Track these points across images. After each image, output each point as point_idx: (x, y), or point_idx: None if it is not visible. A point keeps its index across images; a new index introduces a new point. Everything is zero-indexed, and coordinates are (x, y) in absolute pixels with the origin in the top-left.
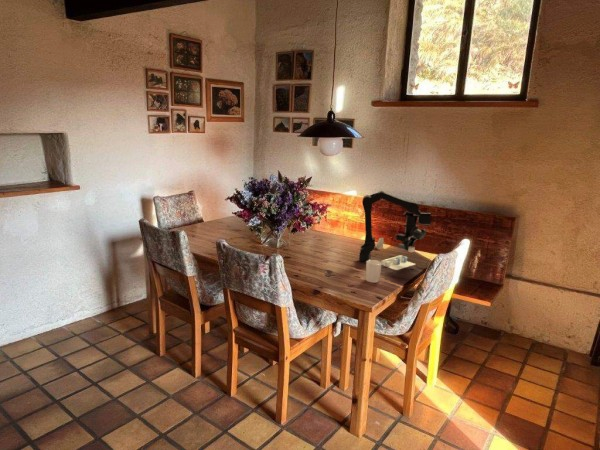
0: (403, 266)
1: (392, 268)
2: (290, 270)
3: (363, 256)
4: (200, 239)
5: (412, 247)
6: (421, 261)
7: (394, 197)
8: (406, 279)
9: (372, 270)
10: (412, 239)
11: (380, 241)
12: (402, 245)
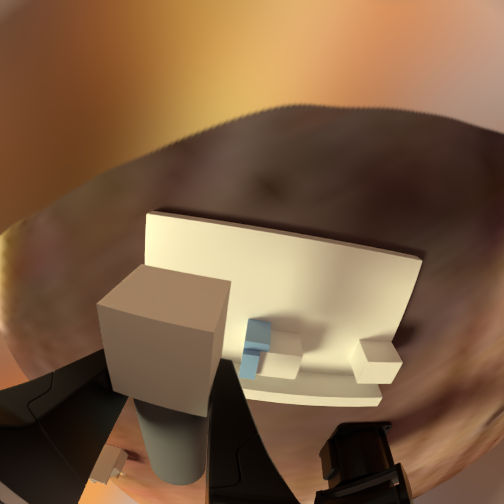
0: (300, 264)
1: (405, 301)
2: (498, 443)
3: (393, 462)
4: None
5: (160, 337)
6: (53, 232)
7: None
8: (487, 135)
9: None
10: (27, 471)
11: (104, 473)
12: (190, 461)
